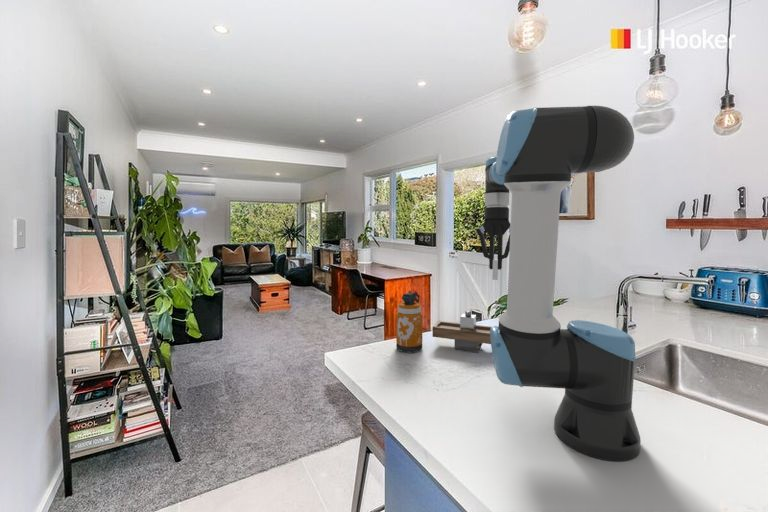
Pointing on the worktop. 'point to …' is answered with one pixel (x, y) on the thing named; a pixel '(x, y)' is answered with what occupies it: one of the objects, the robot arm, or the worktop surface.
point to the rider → (468, 321)
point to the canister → (409, 323)
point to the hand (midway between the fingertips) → (495, 279)
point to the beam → (463, 335)
